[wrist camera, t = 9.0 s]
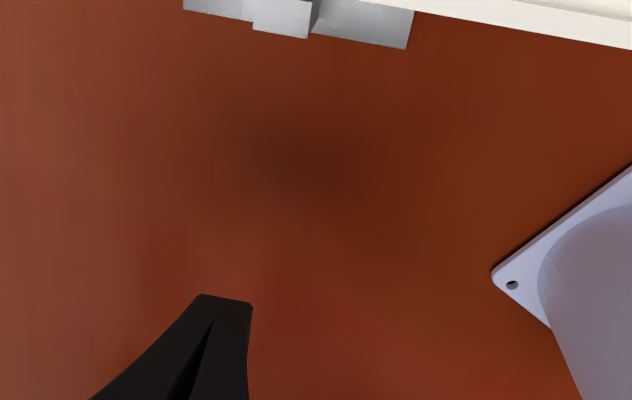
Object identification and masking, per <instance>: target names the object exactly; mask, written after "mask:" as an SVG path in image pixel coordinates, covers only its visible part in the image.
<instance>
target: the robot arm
mask: <svg viewBox="0 0 632 400" xmlns="http://www.w3.org/2000/svg"><path fill="white" fill-rule="evenodd" d="M491 277H492V281H493V283H494V284H495V285H496V286H497V287H499V288H500V289H501V290H502V291H504V292H505V293H506V294H507V295H509V296H510V297H511V298H513V299H514V300H515V301H516V302H518V303H519V304H520V305H521V306H523V307H524V308H525V309H526V310H528V311H529V312H530V313H532V314H533V315H534V316H535V317H537V318H538V319H539V320H540V321H542V322H543V323H544V324H545V325H547V326H548V327H549V328H551V329H552V331H553V333H554V336H555V338H556V340H557V343H558V345H559V347H560V349H561V352H562V354H563V356H564V359H565V361H566V363H567V365H568V368H569V370H570V372H571V375H572V377H573V379H574V382H575V384H576V386H577V388H578V391H579V393H580V395H581V398H582V400H632V165H631V166H630V167H629V168H627V169H626V170H625V171H623V172H622V173H621V174H619V175H618V176H617V177H615V178H614V179H613V180H611V181H610V182H609V183H607V184H606V185H605V186H603V187H602V188H601V189H599V190H598V191H597V192H595V193H594V194H593V195H591V196H590V197H589V198H587V199H586V200H585V201H583V202H582V203H581V204H579V205H578V206H577V207H575V208H574V209H573V210H571V211H570V212H569V213H567V214H566V215H565V216H563V217H562V218H561V219H559V220H558V221H557V222H555V223H554V224H553V225H551V226H550V227H549V228H547V229H546V230H545V231H543V232H542V233H541V234H539V235H538V236H537V237H535V238H534V239H533V240H531V241H530V242H529V243H527V244H526V245H525V246H523V247H522V248H521V249H519V250H518V251H517V252H515V253H514V254H513V255H511V256H510V257H509V258H507V259H506V260H505V261H503V262H502V263H501V264H499V265H498V266H497V267H495V268H494V269H493V270H492V273H491ZM509 281H515V282H514V283H513V284H507V283H508V282H509ZM252 311H253V307H252V305H251V304H250V303H248V302H242V301H237V300H232V299H227V298H221V297H216V296H211V295H205V294H200V295H198V296H197V297H196V298H195V299H194V300H193V302H192V303H191V304H190V305H189V306H188V307H187V309H186V310H185V311H184V312H183V313H182V314H181V315H180V316H179V317H178V319H177V320H176V321H175V322H174V323H173V324H172V325H171V326H170V327H169V328H168V329H167V330H166V331H165V332H164V333H163V334H162V335H161V336H160V337H159V338H158V339H157V340H156V341H155V342H154V343H153V344H152V345H151V346H150V347H149V348H148V349H147V350H146V351H145V352H144V353H143V354H142V355H141V356H140V357H139V358H137V359H136V360H135V361H134V362H133V363H132V364H131V365H130V366H128V367H127V368H126V369H125V370H124V371H123V372H122V373H121V374H119V375H118V376H117V377H116V378H115V379H114V380H113V381H111V382H110V383H109V384H108V385H106V386H105V387H104V388H103V389H102V390H100V391H99V392H98V393H97V394H95V395H94V396H93V397H91V398H90V399H89V400H249V393H248V380H247V353H248V345H249V336H250V328H251V320H252Z"/></svg>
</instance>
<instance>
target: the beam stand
mask: <svg viewBox="0 0 632 400" xmlns="http://www.w3.org/2000/svg"><path fill="white" fill-rule="evenodd" d="M183 9H185V10H191V11H196V12H202V13H207V14H213V15H218V16H224V17H229V18H235V19H240V20H246V21H251V22H253V29H255V30H260V31H266V32H271V33H277V34H282V35H288V36H293V37H299V38H304V39H307V38H308V36H309V35H310V33H317V34H322V35H328V36H333V37H339V38H344V39H350V40H355V41H361V42H366V43H372V44H377V45H383V46H388V47H394V48H399V49H406V45H407V41H408V37H409V33H410V29H411V24H412V20H413V16H414V12H415V10H410V9H405V8H399V7H394V6H388V5H383V4H377V3H372V2H366V1H361V0H183Z"/></svg>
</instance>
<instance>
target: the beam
mask: <svg viewBox="0 0 632 400" xmlns="http://www.w3.org/2000/svg"><path fill="white" fill-rule="evenodd" d="M361 1H366V2H372V3H377V4H383V5H388V6H394V7H399V8H405V9H410V10H416V11H421V12H427V13H432V14H438V15H443V16H449V17H454V18H460V19H465V20H471V21H476V22H482V23H487V24H492V25H498V26H503V27H509V28H514V29H520V30H525V31H531V32H536V33H542V34H547V35H553V36H558V37H564V38H569V39H575V40H580V41H586V42H591V43H597V44H602V45H608V46H613V47H619V48H624V49H629V50H632V0H361Z"/></svg>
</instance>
